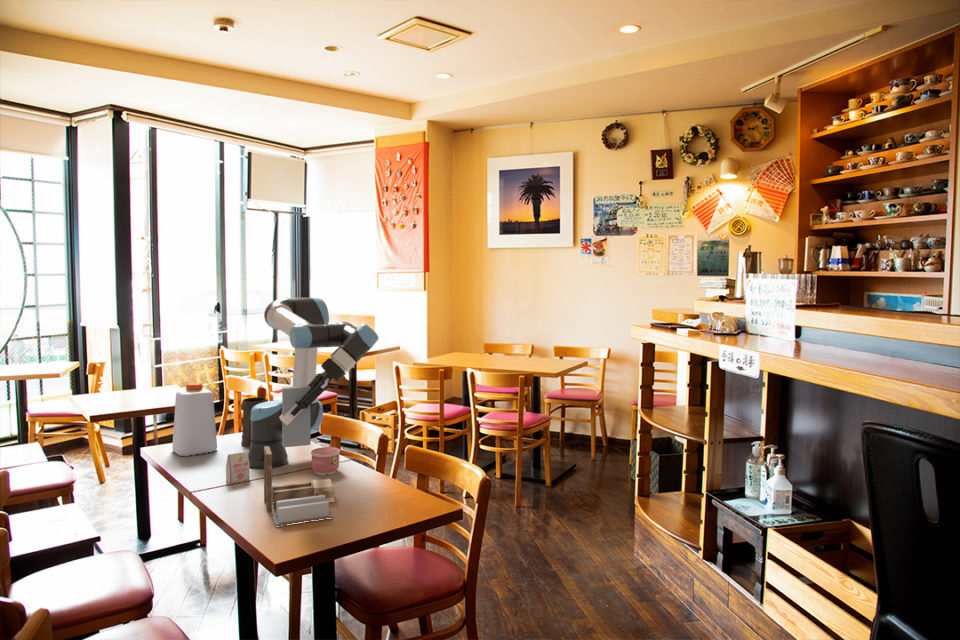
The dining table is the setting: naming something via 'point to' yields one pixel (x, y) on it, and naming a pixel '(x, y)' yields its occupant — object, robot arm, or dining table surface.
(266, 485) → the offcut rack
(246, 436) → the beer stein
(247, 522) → the dining table surface
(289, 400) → the slate board
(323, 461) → the container
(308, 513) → the slot stand
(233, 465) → the tea bag
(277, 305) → the robot arm
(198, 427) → the plastic bottle
